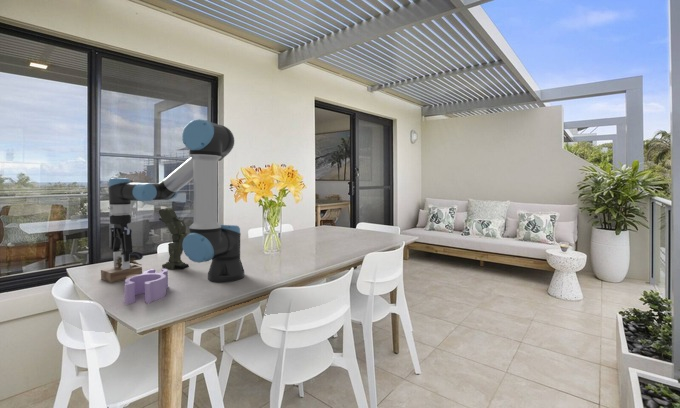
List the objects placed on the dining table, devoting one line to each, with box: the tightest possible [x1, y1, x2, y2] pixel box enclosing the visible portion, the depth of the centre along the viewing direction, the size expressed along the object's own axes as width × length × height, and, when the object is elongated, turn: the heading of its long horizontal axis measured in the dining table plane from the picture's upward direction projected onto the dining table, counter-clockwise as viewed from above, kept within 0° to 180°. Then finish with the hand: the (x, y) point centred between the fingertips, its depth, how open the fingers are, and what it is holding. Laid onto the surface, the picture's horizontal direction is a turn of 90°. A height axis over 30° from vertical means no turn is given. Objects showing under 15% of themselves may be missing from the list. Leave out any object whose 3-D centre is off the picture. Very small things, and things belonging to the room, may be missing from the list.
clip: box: [123, 268, 169, 306], centre depth 117 cm, size 20×12×7 cm, turn 10°
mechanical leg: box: [158, 207, 189, 270], centre depth 154 cm, size 14×7×30 cm, turn 84°
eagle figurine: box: [116, 251, 144, 269], centre depth 139 cm, size 8×7×9 cm
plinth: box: [100, 263, 143, 284], centre depth 137 cm, size 9×12×4 cm
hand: (121, 267), depth 137 cm, fingers closed on eagle figurine, 7 cm apart
